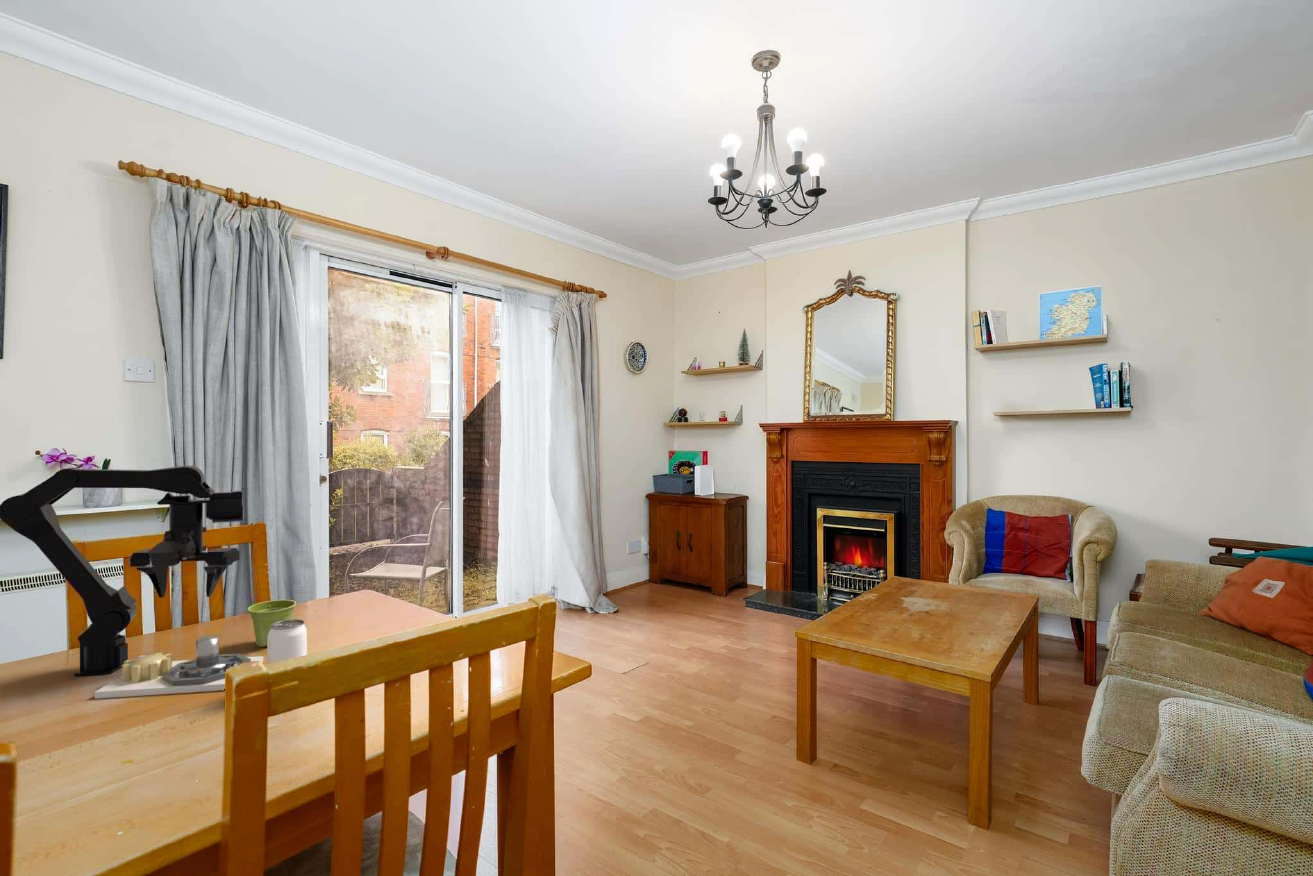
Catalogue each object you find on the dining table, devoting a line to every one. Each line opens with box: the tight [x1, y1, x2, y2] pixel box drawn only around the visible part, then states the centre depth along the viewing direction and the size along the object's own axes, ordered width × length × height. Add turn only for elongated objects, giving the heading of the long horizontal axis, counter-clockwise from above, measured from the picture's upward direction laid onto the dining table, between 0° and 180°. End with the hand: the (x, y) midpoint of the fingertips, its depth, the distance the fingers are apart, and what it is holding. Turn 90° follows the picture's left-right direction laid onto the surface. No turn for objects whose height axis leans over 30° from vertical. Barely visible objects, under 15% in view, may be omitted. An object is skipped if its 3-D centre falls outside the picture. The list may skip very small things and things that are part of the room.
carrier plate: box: [94, 652, 264, 700], centre depth 119 cm, size 22×14×4 cm, turn 101°
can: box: [266, 618, 308, 664], centre depth 116 cm, size 6×6×12 cm
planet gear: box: [179, 635, 235, 678], centre depth 120 cm, size 9×9×6 cm
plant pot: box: [247, 599, 297, 648], centre depth 139 cm, size 9×9×9 cm
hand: (185, 597), depth 130 cm, fingers open, 9 cm apart
